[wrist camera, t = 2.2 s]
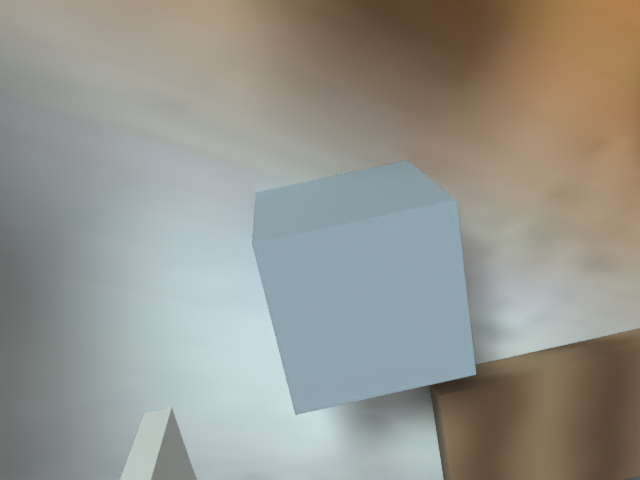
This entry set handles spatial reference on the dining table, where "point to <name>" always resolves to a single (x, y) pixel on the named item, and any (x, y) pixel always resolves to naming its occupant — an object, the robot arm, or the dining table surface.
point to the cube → (364, 284)
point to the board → (545, 414)
